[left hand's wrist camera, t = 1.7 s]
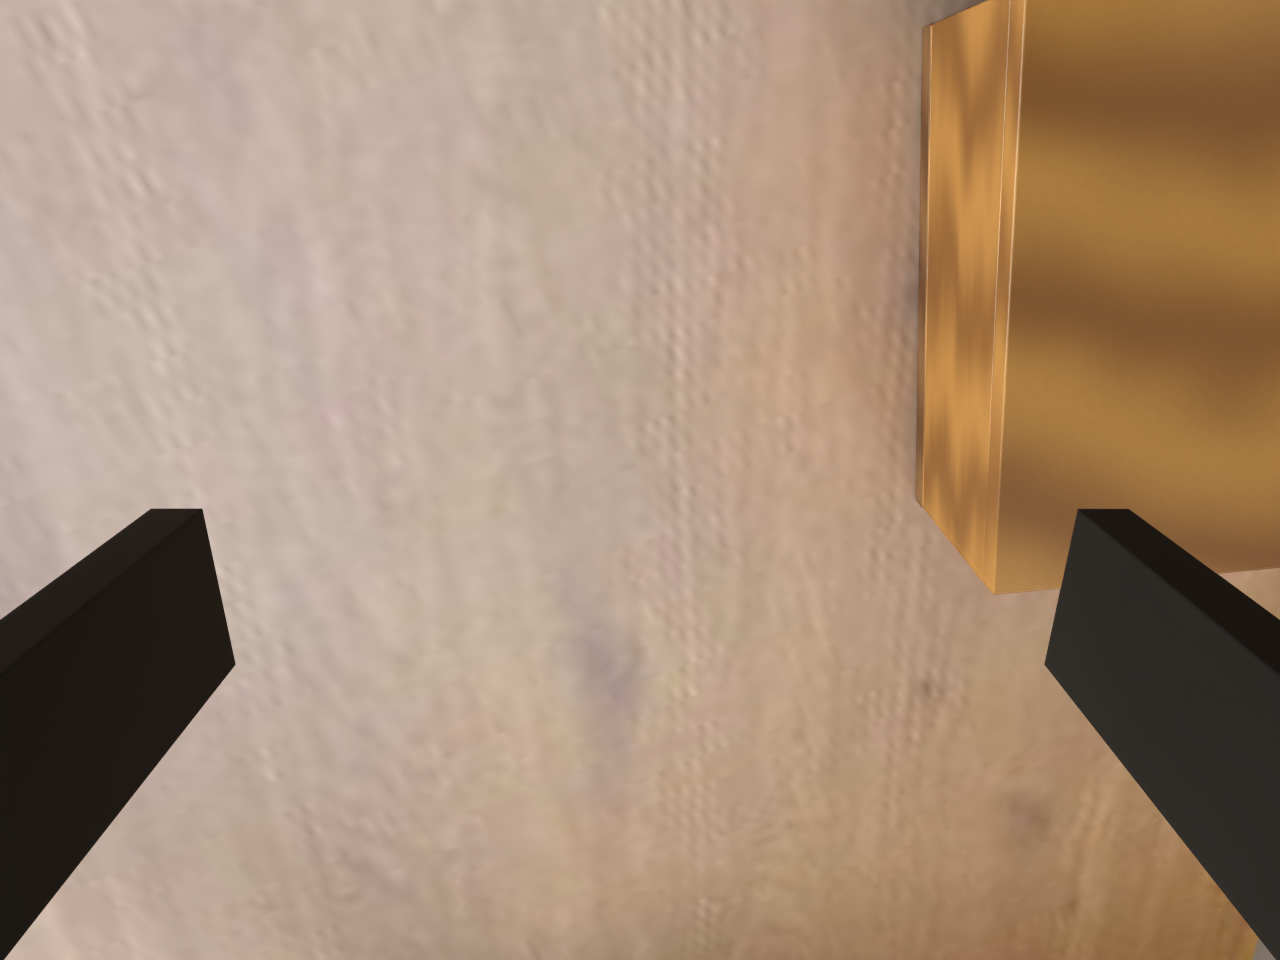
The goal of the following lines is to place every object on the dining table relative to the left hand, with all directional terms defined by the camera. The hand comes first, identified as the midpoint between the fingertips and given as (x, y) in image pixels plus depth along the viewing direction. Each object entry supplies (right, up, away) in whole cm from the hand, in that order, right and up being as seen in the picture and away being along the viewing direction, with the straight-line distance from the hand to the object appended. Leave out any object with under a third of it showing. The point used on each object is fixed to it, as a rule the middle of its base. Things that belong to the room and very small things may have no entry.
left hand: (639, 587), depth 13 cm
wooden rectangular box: (+17, +10, +21) cm, 29 cm away
